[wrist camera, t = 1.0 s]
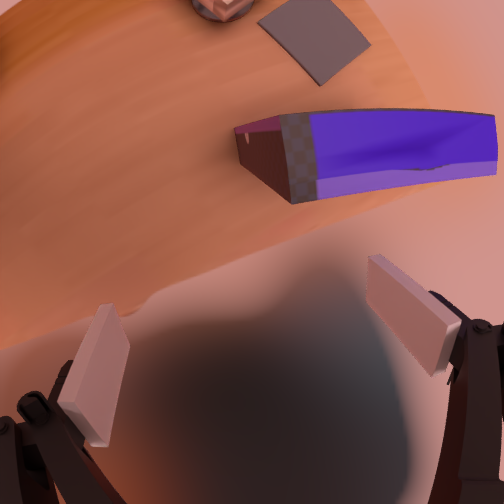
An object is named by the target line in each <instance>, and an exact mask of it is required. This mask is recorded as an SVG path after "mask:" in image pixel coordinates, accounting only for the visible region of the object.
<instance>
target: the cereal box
mask: <svg viewBox="0 0 504 504" xmlns="http://www.w3.org/2000/svg"><path fill="white" fill-rule="evenodd" d="M234 129H235V135H236V141H237V147H238V152H239V158H240V164H241V165H242V166H244V167H245V168H246V169H247V170H249V171H250V172H251V173H253V174H254V175H255V176H256V177H258V178H259V179H260V180H262V181H263V182H264V183H265V184H267V185H268V186H269V187H270V188H272V189H273V190H274V191H275V192H277V193H278V194H279V195H280V196H282V197H283V198H284V199H285V200H287V201H288V202H289V203H290V204H291V205H292V204H298V203H303V202H309V201H314V200H320V199H326V198H332V197H338V196H344V195H350V194H356V193H363V192H369V191H375V190H382V189H389V188H395V187H402V186H409V185H416V184H424V183H431V182H439V181H447V180H454V179H463V178H471V177H480V176H489V175H496V171H497V161H498V160H497V159H498V143H497V133H496V124H495V116H494V115H490V114H483V113H473V112H463V111H451V110H450V111H449V110H434V109H405V108H377V109H346V110H329V111H316V112H304V113H294V114H285V115H278V116H274V117H270V118H267V119H263V120H260V121H256V122H252V123H249V124H246V125H242V126H239V127H236V128H234Z"/></svg>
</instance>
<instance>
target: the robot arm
mask: <svg viewBox="0 0 504 504" xmlns="http://www.w3.org/2000/svg"><path fill="white" fill-rule="evenodd" d="M366 302H367V303H368V305H369V306H370V307H371V308H372V309H373V310H374V311H375V312H376V314H377V315H378V316H379V317H380V318H381V319H382V320H383V321H384V323H385V324H386V325H387V326H388V327H389V328H390V329H391V330H392V332H393V333H394V334H395V335H396V336H397V338H398V339H399V340H400V341H401V342H402V343H403V344H404V345H405V347H406V348H407V349H408V350H409V352H411V354H412V355H413V356H414V357H415V359H416V360H417V361H418V362H419V363H420V365H422V367H423V368H424V369H425V371H426V372H427V373H428V374H429V375H430V377H431V378H434V377H436V376H438V375H440V374H442V373H444V372H445V371H446V368H447V365H448V363H449V362H450V363H451V364H452V365H453V366H454V367H453V369H452V372H451V374H450V377H449V379H448V382H447V385H449V383H450V381H451V384H450V394H449V403H448V411H447V419H446V425H445V431H444V437H443V443H442V448H441V453H440V458H439V462H438V467H437V471H436V475H435V479H434V483H433V487H432V490H431V494H430V497H429V501H428V504H504V481H501V480H500V479H499V466H500V456H501V437H502V418H503V422H504V323H503V324H502V325H496V326H492V325H491V324H490V323H489V322H487V321H485V320H482V319H473V320H471V319H470V318H468V317H467V316H466V315H465V314H464V313H462V312H461V311H460V310H459V309H458V308H456V307H455V306H453V304H452V303H450V302H449V301H447V300H446V299H445V298H444V297H443V296H442V295H440V294H438V293H436V292H433V291H427V290H425V289H424V288H423V287H422V286H420V285H419V284H418V283H417V282H415V281H414V280H413V279H412V278H410V277H409V276H408V275H407V274H405V273H404V272H403V271H402V270H400V269H399V268H398V267H396V266H395V265H394V264H393V263H391V262H390V261H389V260H387V259H386V258H385V257H383V256H382V255H380V254H379V255H374V256H369V257H368V272H367V290H366ZM129 349H130V344H129V341H128V339H127V336H126V334H125V332H124V329H123V327H122V324H121V322H120V319H119V316H118V314H117V311H116V309H115V306H114V303H107V304H101V305H100V306H99V308H98V310H97V312H96V314H95V316H94V318H93V320H92V322H91V324H90V326H89V328H88V330H87V332H86V335H85V337H84V339H83V341H82V343H81V346H80V348H79V350H78V352H77V355H76V357H75V359H74V360H68V361H67V362H66V363H65V365H64V366H63V367H62V368H61V370H60V372H59V374H58V378H57V379H56V381H55V385H54V386H53V388H52V390H51V393H50V395H49V398H48V400H46V398H45V397H44V395H43V394H42V393H41V392H38V391H31V392H29V393H27V394H25V395H24V396H23V397H21V399H20V400H19V401H18V405H17V411H18V413H19V414H20V415H21V416H22V417H23V419H24V420H25V421H26V422H23V423H18V424H16V423H15V421H14V420H13V419H12V418H11V417H9V416H2V417H0V504H59V500H58V497H57V493H56V489H55V485H54V482H55V484H56V486H57V488H58V490H59V491H60V493H61V495H62V497H63V498H64V500H65V502H66V504H127V503H126V502H125V501H124V500H123V498H122V497H121V496H120V495H119V493H118V492H117V491H116V490H115V489H114V487H113V486H112V485H111V483H110V482H109V481H108V479H107V478H106V477H105V475H104V474H103V473H102V471H101V470H100V468H99V467H98V466H97V464H96V463H95V461H94V460H93V458H92V457H91V455H90V454H89V452H88V451H87V450H86V449H85V447H84V446H83V445H84V440H85V439H86V440H87V441H88V442H89V443H90V445H91V446H94V447H108V446H109V440H110V435H111V429H112V424H113V418H114V414H115V409H116V404H117V399H118V395H119V391H120V386H121V382H122V378H123V373H124V369H125V365H126V361H127V357H128V353H129ZM53 480H54V481H53Z"/></svg>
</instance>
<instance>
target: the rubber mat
mask: <svg viewBox="0 0 504 504" xmlns="http://www.w3.org/2000/svg"><path fill="white" fill-rule="evenodd" d="M258 24H259V25H260V26H261V27H262V28H263V29H264V30H265V31H266V32H267V33H268V34H269V35H271V36H272V37H273V38H274V39H275V40H276V41H277V42H278V43H279V44H280V45H281V46H282V47H283V48H284V49H285V50H286V51H287V52H288V53H289V54H290V55H291V56H292V57H293V58H294V59H295V60H296V61H297V62H298V63H299V64H300V65H301V67H302V68H303V69H304V70H305V71H306V72H307V73H308V74H309V75H310V76H311V77H312V78H313V80H314V81H315V82H316V83H317V84H318V85H319V86H322V85H323V84H324V83H325V82H326V81H328V80H329V79H330V78H331V77H332V76H334V75H335V74H336V73H337V72H338V71H340V70H341V69H342V68H343V67H345V66H346V65H347V64H348V63H350V62H351V61H352V60H353V59H355V58H356V57H357V56H358V55H360V54H361V53H362V52H364V51H365V50H366V49H367V48H369V47H370V46H371V44H370V43H369V42H368V40H367V39H366V38H365V37H364V36H363V34H362V33H361V32H360V31H359V30H358V29H357V28H356V27H355V25H354V24H353V23H352V22H351V21H350V20H349V19H348V18H347V17H346V16H345V15H344V13H343V12H342V11H341V10H340V9H339V8H338V7H337V6H336V5H335V4H334V3H333V2H332V1H331V0H289V1H288V2H286V3H285V4H283V5H282V6H280V7H278V8H277V9H276V10H274V11H273V12H271V13H270V14H268V15H267V16H265V17H264V18H263V19H261V20H260V21H258Z"/></svg>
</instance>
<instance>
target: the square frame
mask: <svg viewBox="0 0 504 504" xmlns="http://www.w3.org/2000/svg"><path fill="white" fill-rule="evenodd" d="M198 1H199V2H200V3H201V4H203V5H204V6H205V7H206V8H208V9H209V10H210V11H211V12H213V13H214V14H215V15H216V16H217V17H219V18H220V19H221V20H222V21H223V22H224V21H226V20H227V19H228V18H230V17H231V16H232V15H234V14H235V13H237V12H238V11H239V10H241V9H242V8H244V7H245V6H246V5H248V4H249V3H251V2H252V1H254V0H198Z"/></svg>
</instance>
